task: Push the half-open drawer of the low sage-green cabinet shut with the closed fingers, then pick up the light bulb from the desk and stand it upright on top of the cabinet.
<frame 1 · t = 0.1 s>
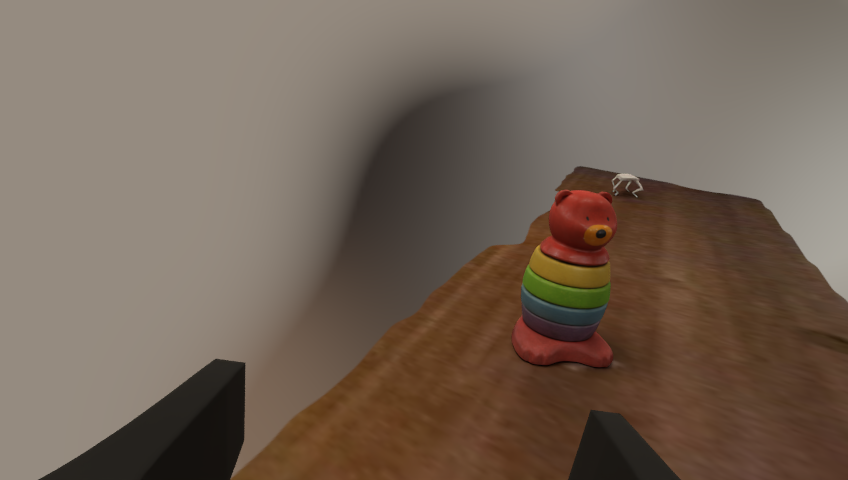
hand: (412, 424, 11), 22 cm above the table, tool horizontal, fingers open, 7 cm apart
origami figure: (624, 193, 151), on the table
stacking bear: (553, 344, 62), on the table
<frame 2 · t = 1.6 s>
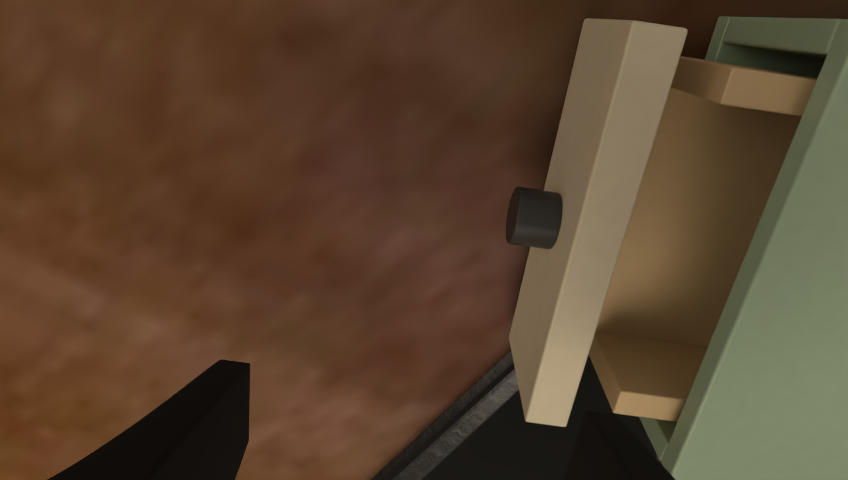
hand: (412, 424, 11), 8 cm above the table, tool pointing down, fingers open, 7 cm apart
phone: (529, 441, 23), on the table
cabinet: (837, 232, 18), on the table
drawer: (732, 246, 15), point 3 cm above the table, slide at 2.8 cm
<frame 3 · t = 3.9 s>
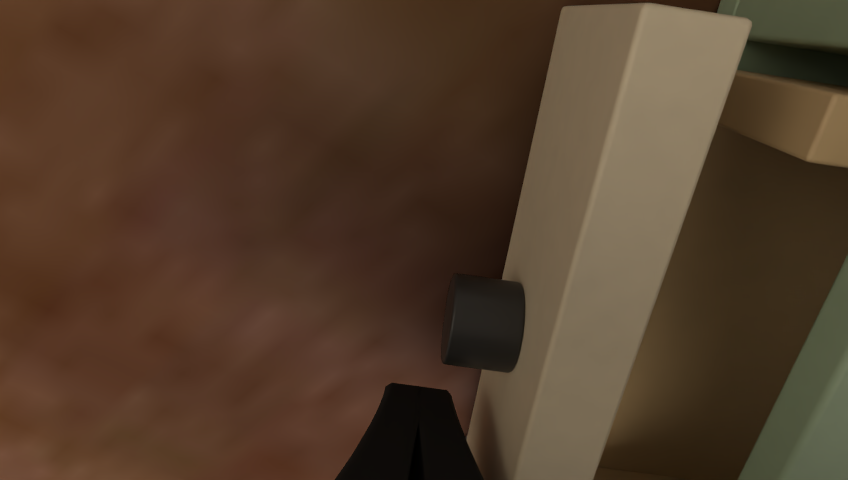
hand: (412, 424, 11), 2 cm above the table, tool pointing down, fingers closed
drawer: (795, 366, 10), point 3 cm above the table, slide at 1.9 cm, touching gripper
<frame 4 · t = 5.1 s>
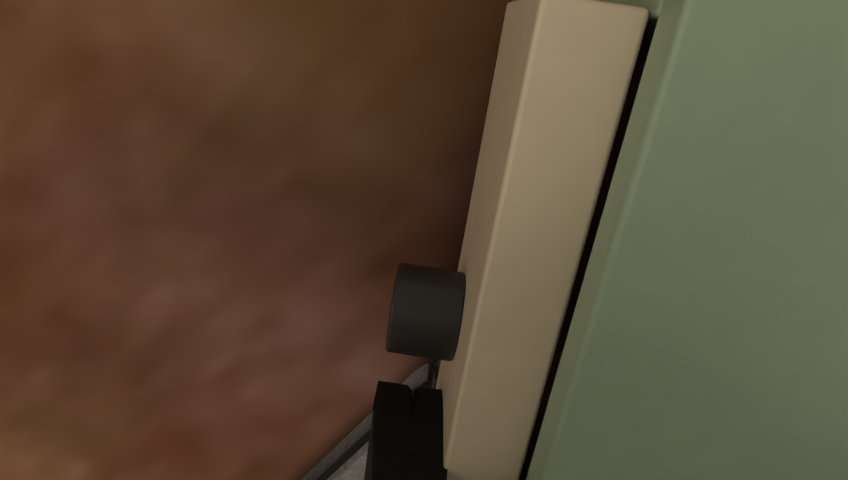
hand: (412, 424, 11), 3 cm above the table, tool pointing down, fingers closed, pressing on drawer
cabinet: (774, 298, 13), on the table
drawer: (738, 359, 10), point 3 cm above the table, slide at 0.0 cm, touching cabinet, gripper
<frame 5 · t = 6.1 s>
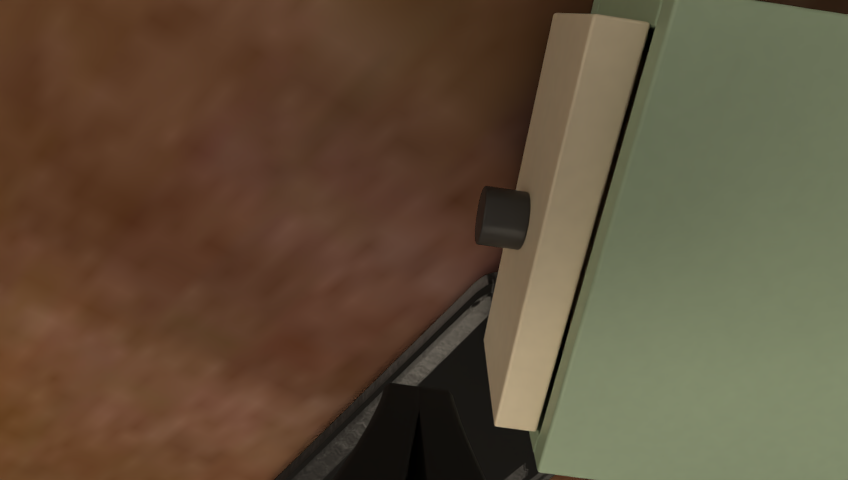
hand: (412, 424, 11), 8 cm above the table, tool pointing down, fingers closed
phone: (441, 435, 22), on the table
cabinet: (733, 220, 18), on the table
drawer: (705, 247, 15), point 3 cm above the table, slide at 0.0 cm, touching cabinet
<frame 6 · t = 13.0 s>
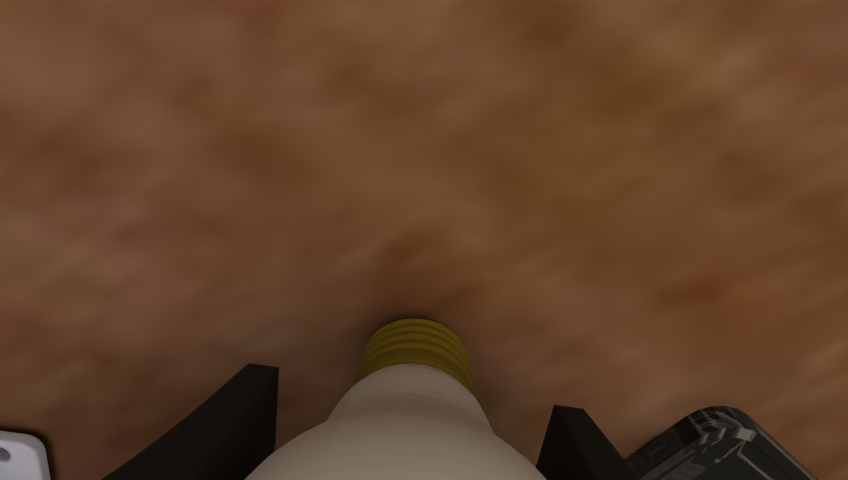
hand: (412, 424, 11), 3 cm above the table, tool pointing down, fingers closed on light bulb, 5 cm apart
light bulb: (417, 341, 14), on the table, touching gripper
when the fingers open (9 cm above the table, at t = 17.4 s): light bulb stays where it is, resting on cabinet.
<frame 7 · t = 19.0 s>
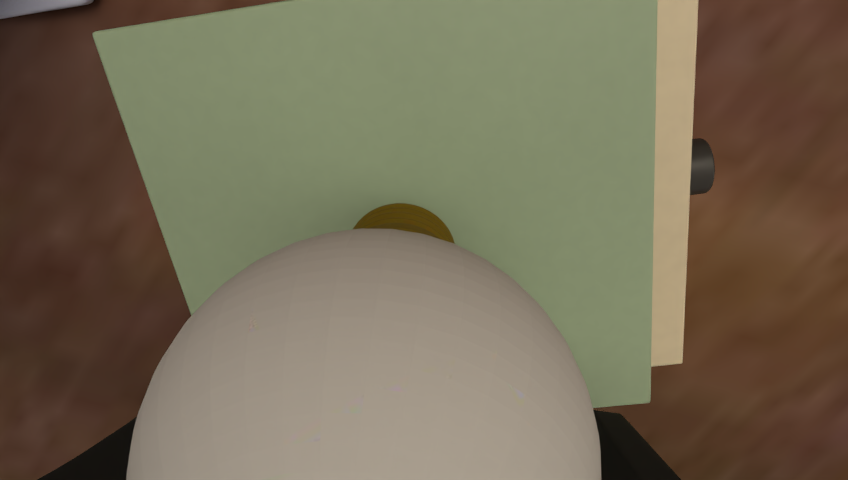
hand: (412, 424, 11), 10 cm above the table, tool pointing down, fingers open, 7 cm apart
light bulb: (403, 237, 14), point 6 cm above the table, touching cabinet
cabinet: (415, 175, 19), on the table
drawer: (486, 193, 16), point 3 cm above the table, slide at 0.0 cm, touching cabinet
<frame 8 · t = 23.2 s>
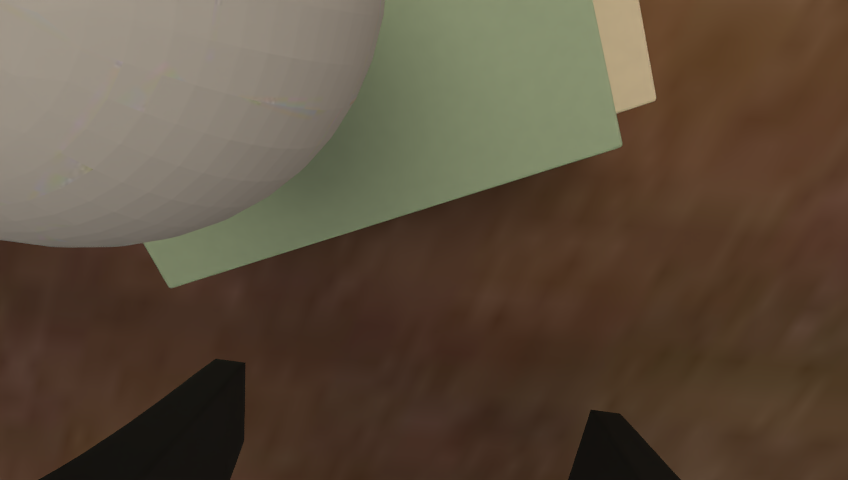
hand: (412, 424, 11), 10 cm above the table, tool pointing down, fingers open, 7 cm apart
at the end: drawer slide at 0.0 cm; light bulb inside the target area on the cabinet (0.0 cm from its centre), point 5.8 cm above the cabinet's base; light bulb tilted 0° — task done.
